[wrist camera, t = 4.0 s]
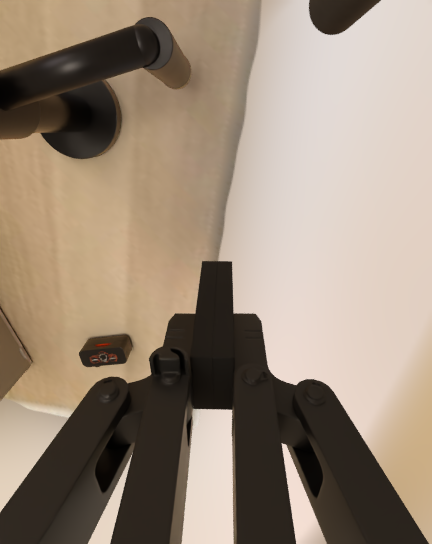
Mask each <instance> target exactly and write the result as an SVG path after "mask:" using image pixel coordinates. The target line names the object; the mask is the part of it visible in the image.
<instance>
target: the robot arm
mask: <svg viewBox="0 0 432 544" xmlns="http://www.w3.org/2000/svg"><path fill="white" fill-rule="evenodd" d="M149 361H150V368H151V375H150V376H148V377H147V378H145V379H142V380H139V381H136V382H132V383H128V384H127V382H126V381H125V380H124V379H122V378H119V377H108V378H104V379H102V380H100V381H98V382H97V383H96V384H95V385H94V386H93V387H92V388H91V389H90V390H89V391H88V393H87V394H86V396H85V397H84V398H83V400H82V401H81V402H80V404H79V405H78V407H77V408H76V409H75V411H74V412H73V413H72V415H71V416H70V418H69V419H68V420H67V422H66V423H65V424H64V426H63V427H62V429H61V430H60V431H59V433H58V434H57V435H56V437H55V438H54V439H53V441H52V442H51V444H50V445H49V446H48V448H47V449H46V450H45V452H44V453H43V455H42V456H41V457H40V459H39V460H38V461H37V463H36V464H35V466H34V467H33V468H32V470H31V471H30V472H29V474H28V475H27V477H26V478H25V479H24V481H23V482H22V483H21V485H20V486H19V488H18V489H17V490H16V492H15V493H14V494H13V496H12V497H11V498H10V500H9V501H8V503H7V504H6V506H5V507H4V508H3V509H2V511H1V512H0V544H88V542H89V540H90V538H91V535H92V533H93V532H94V530H95V528H96V526H97V524H98V521H99V520H100V517H101V515H102V513H103V511H104V509H105V507H106V505H107V503H108V501H109V499H110V497H111V495H112V493H113V491H114V489H115V487H116V485H117V483H118V481H119V479H120V477H121V475H122V473H123V471H124V469H125V467H126V465H127V463H128V461H129V459H130V457H131V455H132V458H131V462H130V466H129V470H128V474H127V478H126V482H125V487H124V491H123V494H122V499H121V503H120V507H119V511H118V515H117V519H116V523H115V527H114V531H113V535H112V539H111V543H110V544H181V542H182V531H183V521H184V510H185V499H186V488H187V479H188V467H189V457H190V446H191V436H192V426H193V419H192V411H193V409H229V410H232V414H233V415H232V446H233V522H234V523H233V525H234V544H296V540H295V533H294V526H293V519H292V513H291V506H290V499H289V492H288V485H287V478H286V471H285V465H284V457H283V451H282V444H281V443H283V444H286V445H287V447H288V450H289V452H290V454H291V457H292V459H293V462H294V464H295V467H296V469H297V472H298V474H299V476H300V479H301V481H302V484H303V486H304V489H305V491H306V493H307V496H308V498H309V501H310V503H311V506H312V508H313V510H314V513H315V515H316V518H317V520H318V523H319V525H320V527H321V530H322V533H323V535H324V537H325V540H326V542H327V544H429V543H428V542H427V540H426V538H425V537H424V535H423V534H422V532H421V530H420V529H419V527H418V526H417V524H416V523H415V521H414V519H413V518H412V516H411V515H410V513H409V511H408V510H407V508H406V507H405V505H404V503H403V502H402V500H401V499H400V497H399V495H398V494H397V492H396V491H395V489H394V487H393V486H392V484H391V483H390V481H389V480H388V478H387V476H386V475H385V473H384V472H383V470H382V468H381V467H380V465H379V464H378V462H377V461H376V459H375V457H374V456H373V454H372V452H371V451H370V450H369V448H368V446H367V445H366V443H365V441H364V440H363V438H362V437H361V435H360V433H359V432H358V430H357V429H356V427H355V426H354V424H353V422H352V421H351V419H350V417H349V416H348V414H347V413H346V411H345V409H344V408H343V406H342V405H341V403H340V401H339V400H338V398H337V397H336V395H335V394H334V392H333V391H332V390H331V389H330V387H329V386H328V385H326V384H324V383H323V382H321V381H317V380H314V379H307V380H304V381H301V382H299V383H298V384H297V385H293V384H290V383H286V382H284V381H281V380H279V379H278V378H276V377H275V376H274V375H273V374H272V373H271V372H270V370H269V369H268V365H267V359H266V352H265V345H264V339H263V332H262V323H261V321H260V319H259V318H258V317H257V315H256V314H233V283H232V262H228V261H202V268H201V276H200V283H199V291H198V299H197V306H196V314H175V315H174V316H173V317H172V318H171V319H170V320H169V323H168V327H167V331H166V336H165V340H164V344H163V347H160V348H158V349H156V350H155V351H154V352H153V353H152V354H151V356H150V358H149ZM132 453H133V454H132Z"/></svg>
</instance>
